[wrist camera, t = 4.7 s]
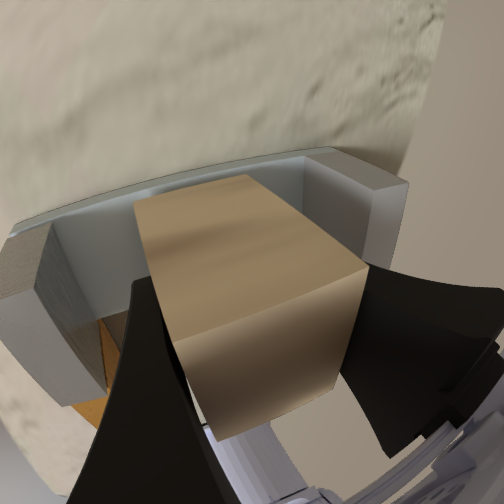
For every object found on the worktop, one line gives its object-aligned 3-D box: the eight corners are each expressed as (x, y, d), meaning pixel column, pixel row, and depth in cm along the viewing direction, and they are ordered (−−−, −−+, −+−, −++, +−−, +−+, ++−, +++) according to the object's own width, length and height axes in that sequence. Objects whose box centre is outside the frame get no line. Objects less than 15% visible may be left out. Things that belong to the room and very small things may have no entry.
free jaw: (141, 385, 16) (161, 451, 12) (112, 393, 15) (127, 459, 12) (55, 212, 9) (33, 288, 6) (12, 228, 8) (-23, 308, 5)
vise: (322, 236, 16) (384, 286, 12) (61, 318, 11) (61, 407, 8) (329, 146, 13) (409, 182, 9) (14, 225, 8) (-23, 308, 5)
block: (252, 283, 13) (333, 388, 9) (164, 312, 12) (217, 442, 7) (246, 174, 10) (369, 266, 6) (132, 201, 9) (172, 342, 4)
